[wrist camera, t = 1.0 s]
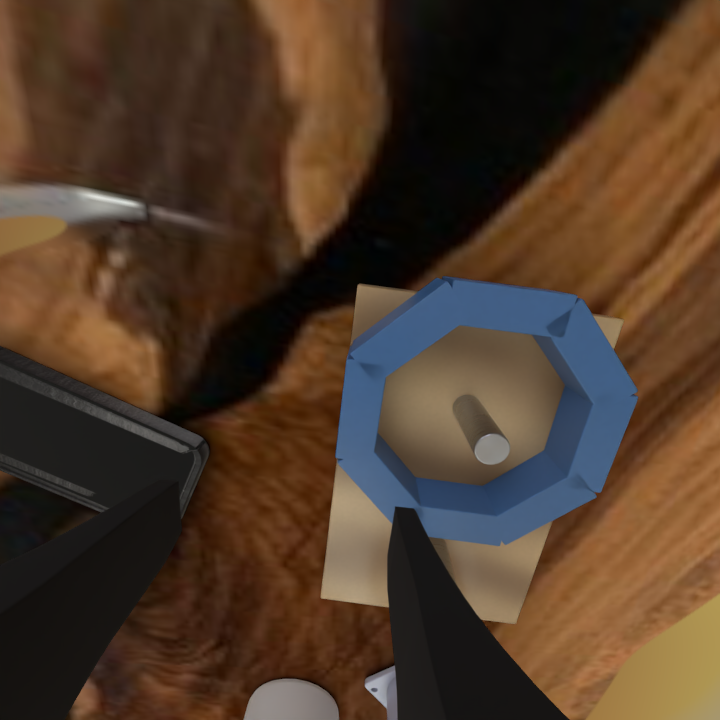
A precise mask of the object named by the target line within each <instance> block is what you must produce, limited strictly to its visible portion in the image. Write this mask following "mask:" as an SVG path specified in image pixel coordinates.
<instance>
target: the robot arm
mask: <svg viewBox="0 0 720 720" xmlns="http://www.w3.org/2000/svg"><path fill="white" fill-rule="evenodd" d="M181 531H182V527H181V511H180V494H179V481H174V480H165V479H160V480H158V481H156V482H154V483H152V484H150V485H148V486H147V487H145V488H143V489H142V490H140V491H138V492H136V493H135V494H133V495H131V496H130V497H128V498H126V499H124V500H123V501H121V502H119V503H118V504H116V505H114V506H112V507H111V508H109V509H107V510H105V511H104V512H102V513H100V514H99V515H97V516H95V517H93V518H92V519H90V520H88V521H86V522H84V523H82V524H81V525H79V526H77V527H75V528H73V529H71V530H69V531H68V532H66V533H64V534H62V535H60V536H58V537H56V538H55V539H53V540H51V541H49V542H47V543H45V544H43V545H41V546H39V547H37V548H35V549H33V550H31V551H29V552H27V553H25V554H23V555H21V556H18V557H16V558H14V559H12V560H10V561H8V562H6V563H3V564H1V565H0V720H64V719H65V718H66V716H67V714H68V712H69V710H70V709H71V707H72V705H73V703H74V702H75V700H76V698H77V696H78V695H79V693H80V691H81V690H82V688H83V686H84V684H85V683H86V681H87V679H88V678H89V676H90V674H91V672H92V671H93V669H94V667H95V666H96V664H97V662H98V660H99V659H100V657H101V656H102V654H103V653H104V651H105V649H106V648H107V646H108V645H109V643H110V642H111V640H112V639H113V637H114V636H115V634H116V633H117V631H118V630H119V629H120V627H121V626H122V624H123V623H124V621H125V620H126V618H127V617H128V616H129V614H130V613H131V611H132V610H133V608H134V607H135V606H136V604H137V603H138V601H139V600H140V598H141V597H142V595H143V594H144V593H145V591H146V590H147V588H148V587H149V585H150V584H151V582H152V581H153V579H154V578H155V577H156V575H157V574H158V572H159V571H160V569H161V568H162V566H163V565H164V563H165V561H166V560H167V558H168V556H169V554H170V552H171V551H172V549H173V547H174V545H175V543H176V541H177V539H178V537H179V535H180V533H181ZM387 592H388V602H389V613H390V623H391V633H392V643H393V653H394V663H395V665H394V666H392V667H390V668H387V669H385V670H383V671H381V672H378V673H376V674H374V675H372V676H369V677H367V678H366V679H365V687H366V689H367V690H368V691H370V692H371V693H372V694H373V695H374V696H375V697H376V698H377V699H378V700H379V701H380V702H381V703H382V704H383V705H384V706H385V707H386V708H387V720H569V719H568V718H567V717H566V716H565V715H564V714H563V713H562V712H561V711H560V710H559V709H558V708H557V707H556V706H555V705H554V704H553V703H552V702H551V701H550V700H549V699H548V697H547V696H546V695H545V694H544V693H543V692H542V691H541V690H540V689H539V688H538V687H537V686H536V685H535V684H534V683H533V682H532V681H531V679H530V678H529V677H528V676H527V675H526V674H525V673H524V671H523V670H522V669H521V668H520V667H519V666H518V665H517V663H516V662H515V661H514V660H513V659H512V658H511V657H510V655H509V654H508V653H507V652H506V651H505V650H504V649H503V647H502V646H501V645H500V644H499V642H498V641H497V640H496V639H495V637H494V636H493V635H492V633H491V632H490V631H489V630H488V628H487V627H486V626H485V624H484V623H483V622H482V620H481V619H480V618H479V616H478V615H477V614H476V612H475V611H474V610H473V608H472V607H471V605H470V604H469V603H468V601H467V600H466V598H465V597H464V595H463V594H462V592H461V591H460V589H459V588H458V586H457V585H456V583H455V582H454V580H453V578H452V577H451V575H450V574H449V572H448V570H447V569H446V567H445V565H444V564H443V562H442V560H441V558H440V557H439V555H438V553H437V552H436V550H435V548H434V546H433V544H432V542H431V541H430V539H429V537H428V535H427V533H426V531H425V529H424V527H423V525H422V523H421V521H420V519H419V516H418V514H417V512H416V511H415V509H414V508H406V507H397V506H395V511H394V517H393V523H392V529H391V535H390V541H389V548H388V554H387Z"/></svg>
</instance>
